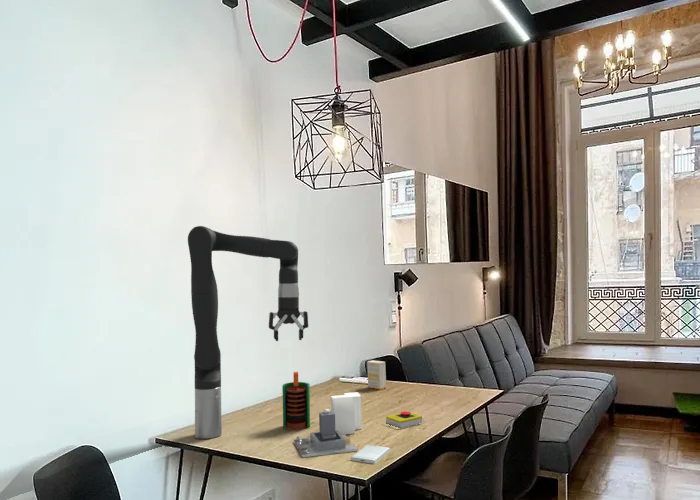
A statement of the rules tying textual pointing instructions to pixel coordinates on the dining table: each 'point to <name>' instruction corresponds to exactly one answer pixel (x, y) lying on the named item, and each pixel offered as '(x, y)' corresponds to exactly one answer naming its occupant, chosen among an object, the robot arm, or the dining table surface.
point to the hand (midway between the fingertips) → (288, 340)
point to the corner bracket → (347, 412)
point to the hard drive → (370, 454)
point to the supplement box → (376, 374)
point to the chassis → (324, 445)
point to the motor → (296, 404)
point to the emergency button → (403, 419)
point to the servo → (327, 425)
